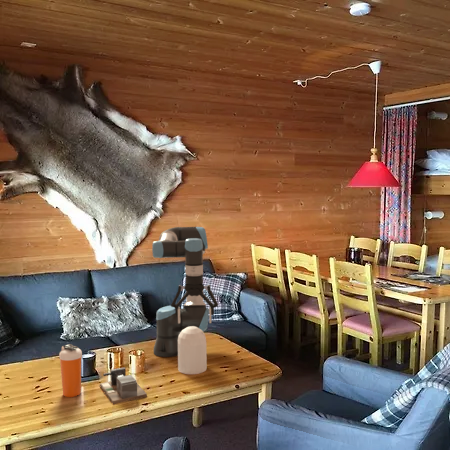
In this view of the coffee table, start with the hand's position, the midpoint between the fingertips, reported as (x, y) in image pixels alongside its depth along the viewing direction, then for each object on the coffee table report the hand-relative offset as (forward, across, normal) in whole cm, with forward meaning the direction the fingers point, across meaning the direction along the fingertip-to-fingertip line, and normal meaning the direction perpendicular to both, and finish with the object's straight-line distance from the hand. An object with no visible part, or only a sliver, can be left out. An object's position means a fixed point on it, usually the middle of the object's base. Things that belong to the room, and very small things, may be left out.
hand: (194, 322), depth 220 cm
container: (+26, -2, +13) cm, 29 cm away
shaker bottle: (+26, -50, -14) cm, 58 cm away
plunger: (+24, -32, -11) cm, 42 cm away
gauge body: (+26, -30, -12) cm, 41 cm away
